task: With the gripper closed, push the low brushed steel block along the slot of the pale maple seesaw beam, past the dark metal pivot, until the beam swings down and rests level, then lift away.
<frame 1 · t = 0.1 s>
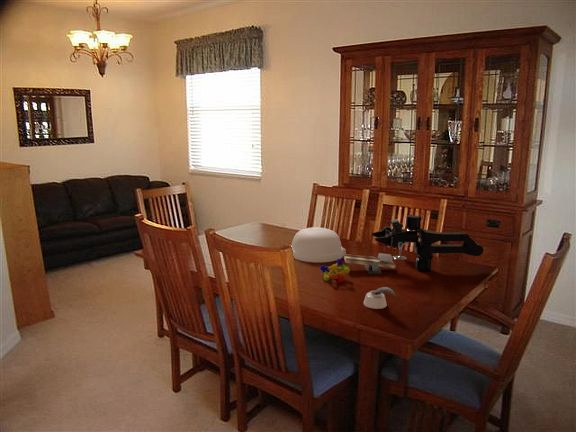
hand: (373, 236, 220), 17 cm above the table, tool horizontal, fingers open, 9 cm apart
dome cover: (316, 254, 249), on the table
steel block: (384, 261, 222), point 4 cm above the table, tilted 7°, touching beam
pivot stand: (372, 270, 223), on the table
beam: (369, 261, 222), point 4 cm above the table, hinge at -6.5°, touching steel block
wine glass: (399, 258, 243), on the table
decorative model: (335, 280, 209), on the table
inkwell: (382, 309, 178), on the table
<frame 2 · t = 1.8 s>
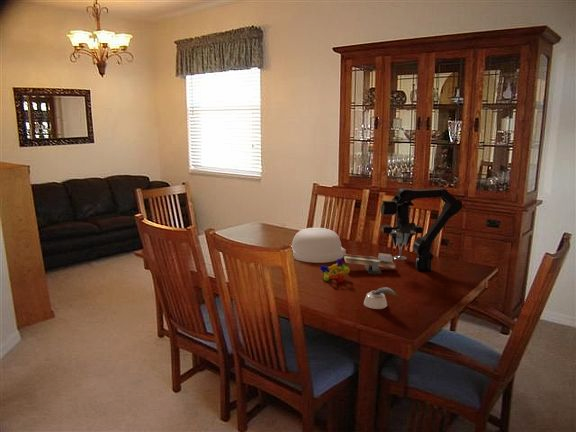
hand: (400, 246, 221), 12 cm above the table, tool pointing down, fingers open, 5 cm apart
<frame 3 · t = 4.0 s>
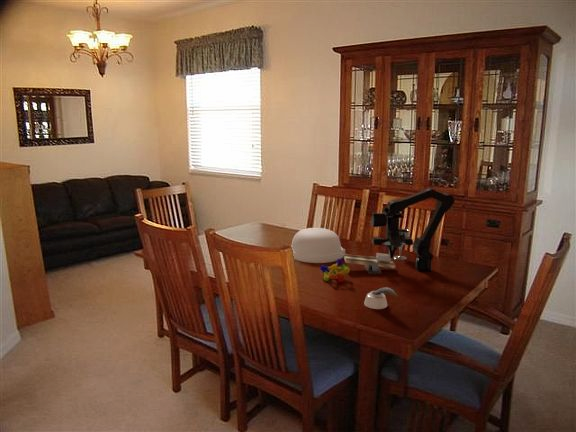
hand: (391, 257, 222), 6 cm above the table, tool pointing down, fingers closed
steel block: (382, 261, 222), point 4 cm above the table, tilted 6°, touching beam, gripper
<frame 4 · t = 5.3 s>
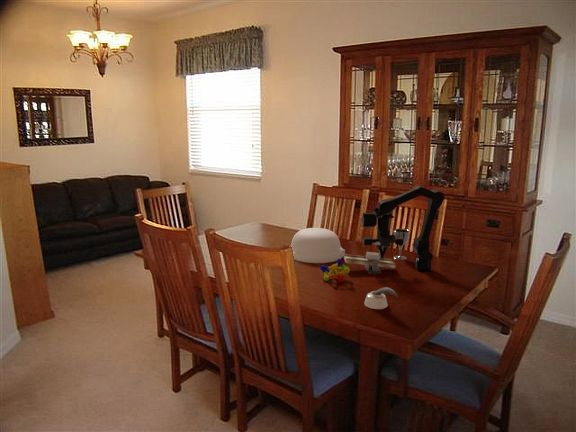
hand: (381, 258, 222), 6 cm above the table, tool pointing down, fingers closed
steel block: (372, 260, 222), point 5 cm above the table, tilted 6°, touching beam, gripper
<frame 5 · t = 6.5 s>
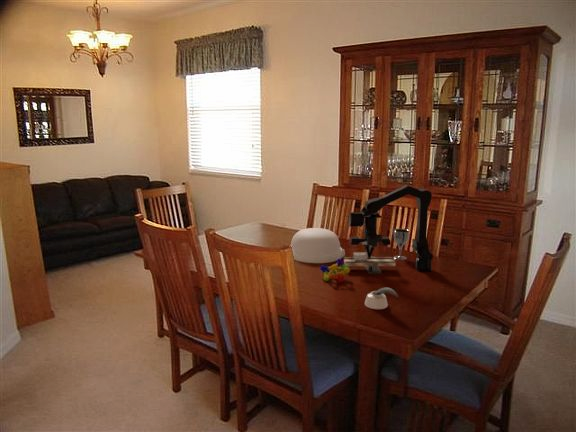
hand: (369, 257, 222), 6 cm above the table, tool pointing down, fingers closed
steel block: (360, 260, 222), point 5 cm above the table, touching beam, gripper
beam: (369, 262, 222), point 4 cm above the table, hinge at 0.4°, touching steel block
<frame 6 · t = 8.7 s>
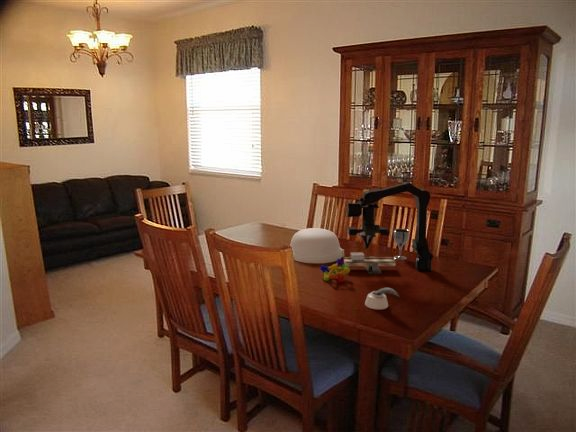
hand: (366, 248, 221), 11 cm above the table, tool pointing down, fingers closed
steel block: (357, 260, 222), point 5 cm above the table, touching beam
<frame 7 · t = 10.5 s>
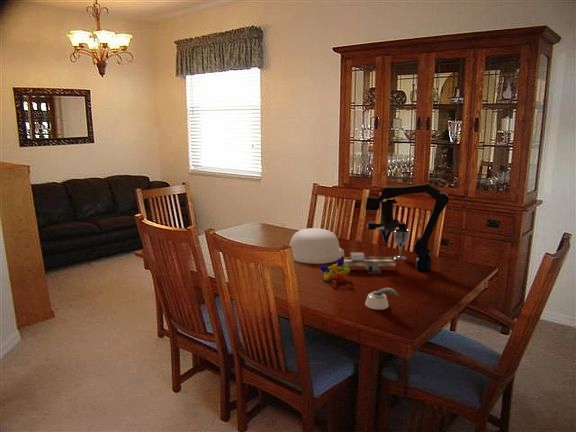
hand: (385, 242, 227), 12 cm above the table, tool pointing down, fingers closed
at the end: beam at +0° (first picture: -7°); steel block inside the target area on the beam (0.6 cm from its centre), point 0.7 cm above the beam's base; steel block tilted 0° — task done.
